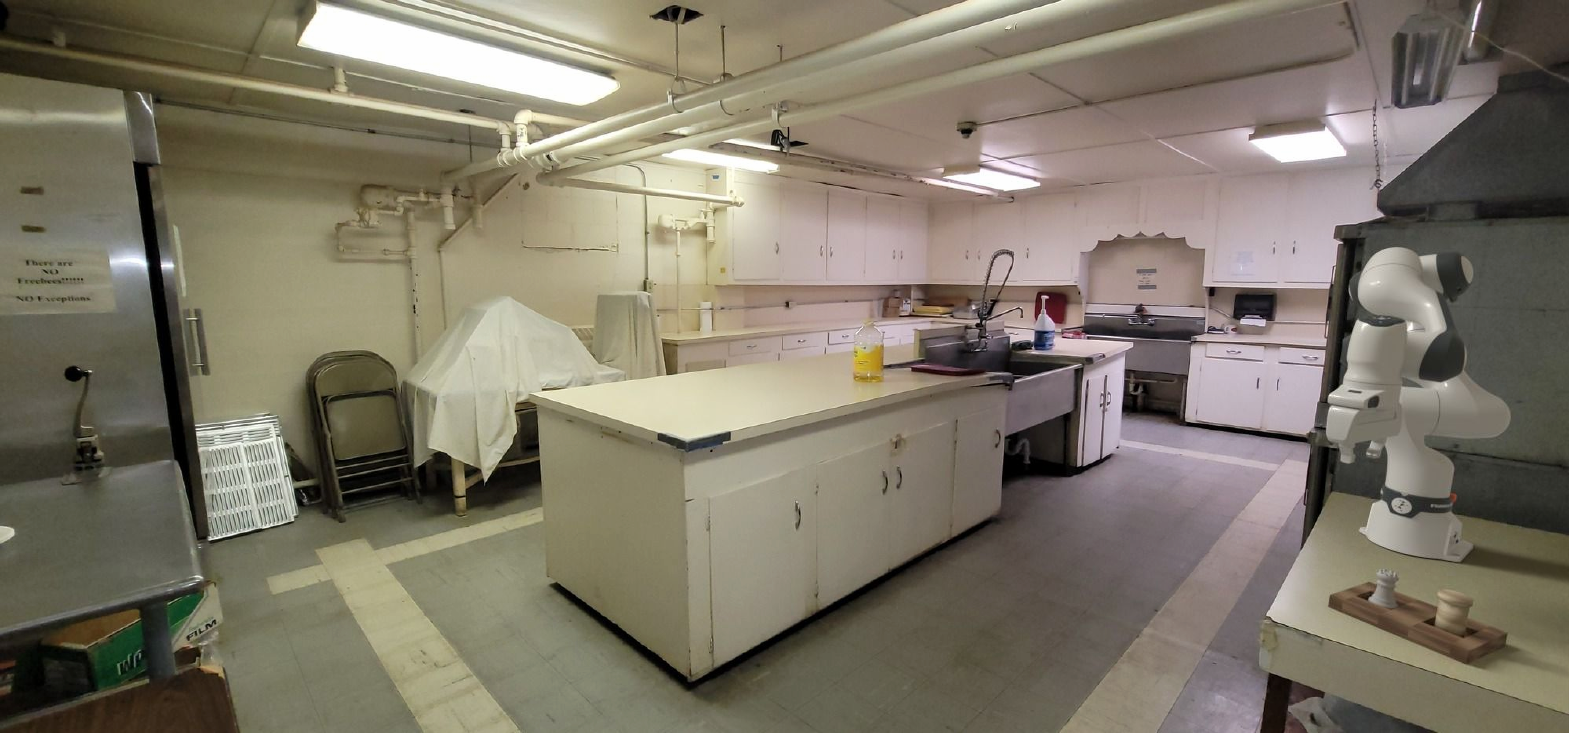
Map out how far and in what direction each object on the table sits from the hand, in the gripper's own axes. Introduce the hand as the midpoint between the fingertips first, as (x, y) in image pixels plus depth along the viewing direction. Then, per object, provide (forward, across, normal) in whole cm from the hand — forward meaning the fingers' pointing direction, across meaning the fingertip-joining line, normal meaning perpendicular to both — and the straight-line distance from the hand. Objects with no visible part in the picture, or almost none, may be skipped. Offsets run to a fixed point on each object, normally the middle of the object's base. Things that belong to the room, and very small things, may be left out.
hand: (1360, 460), depth 131 cm
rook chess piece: (+27, +8, +10) cm, 30 cm away
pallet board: (+27, +8, +15) cm, 32 cm away
